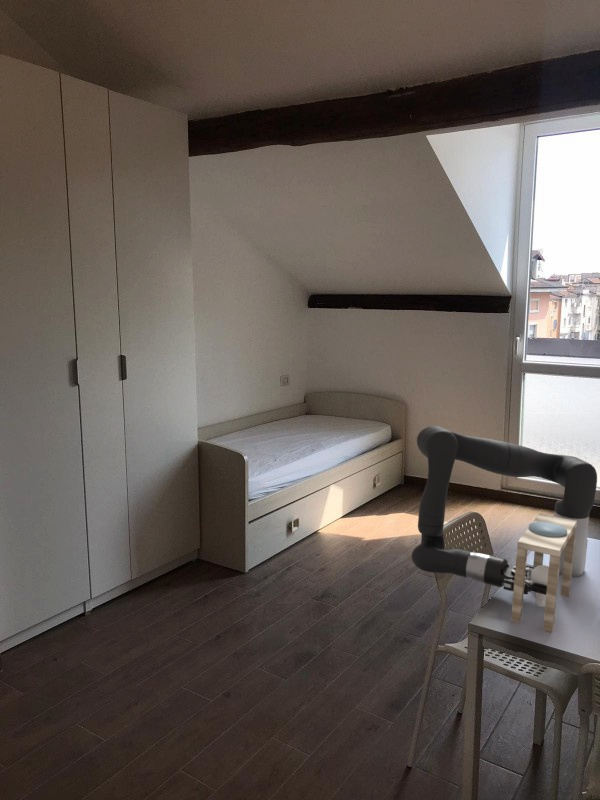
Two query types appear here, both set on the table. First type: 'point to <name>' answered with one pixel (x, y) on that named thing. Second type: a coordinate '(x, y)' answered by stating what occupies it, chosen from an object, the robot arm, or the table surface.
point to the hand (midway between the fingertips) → (551, 585)
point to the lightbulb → (540, 582)
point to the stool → (542, 539)
